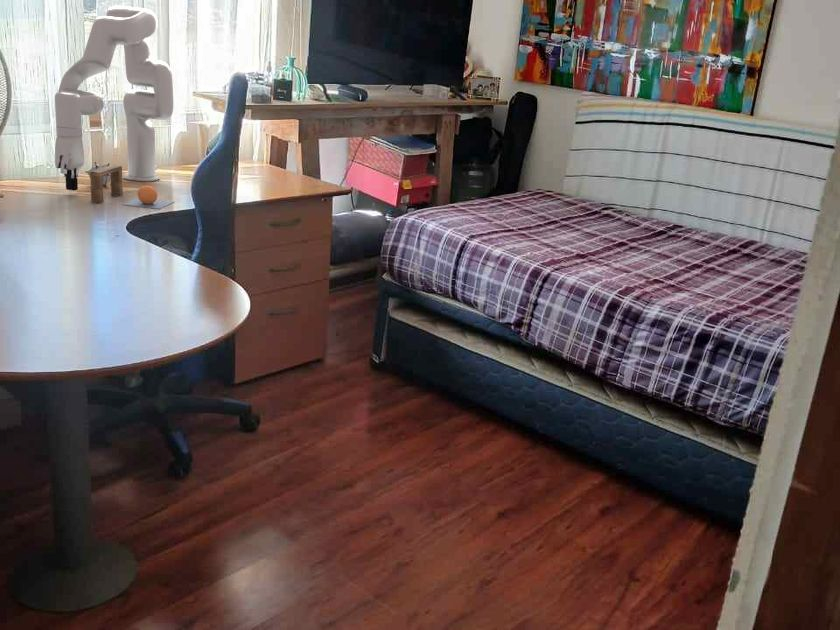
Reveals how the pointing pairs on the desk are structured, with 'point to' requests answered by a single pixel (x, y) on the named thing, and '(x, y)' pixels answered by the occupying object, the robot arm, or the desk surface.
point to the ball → (147, 194)
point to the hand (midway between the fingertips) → (71, 189)
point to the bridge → (97, 182)
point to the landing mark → (156, 205)
